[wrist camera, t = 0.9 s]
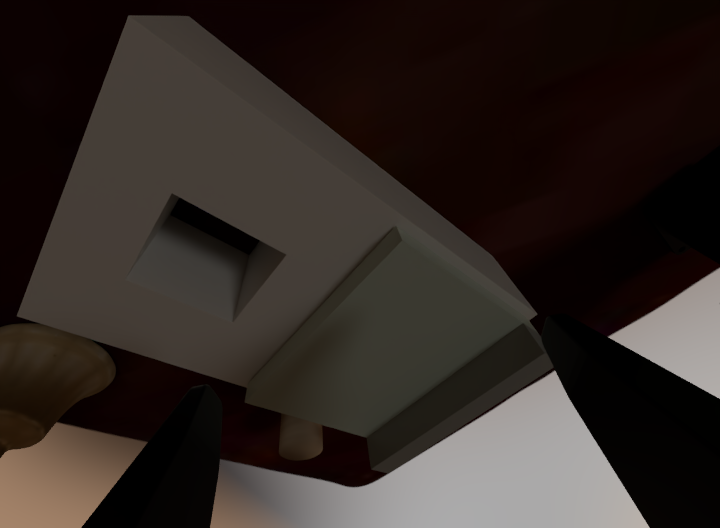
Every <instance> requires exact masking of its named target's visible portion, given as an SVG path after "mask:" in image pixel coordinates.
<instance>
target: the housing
mask: <svg viewBox="0 0 720 528" xmlns="http://www.w3.org/2000/svg"><path fill="white" fill-rule="evenodd" d="M179 198H182V199H184V200H186V201H187V202H189V203H191V204H193V205H195V206H197V207H199V208H200V209H202V210H204V211H206V212H208V213H210V214H212V215H213V216H215V217H217V218H219V219H221V220H223V221H225V222H226V223H228V224H230V225H232V226H234V227H236V228H238V229H240V230H241V231H243V232H245V233H247V234H249V235H251V236H253V237H254V238H256V239H258V240H260V241H259V242H258V244H257V245H256V247H255V248H254V249H253V251H252V252H251V253H250V255H248V254H246V253H244V252H242V251H240V250H238V249H236V248H234V247H232V246H230V245H228V244H226V243H225V242H223V241H221V240H219V239H217V238H215V237H213V236H211V235H209V234H207V233H205V232H203V231H201V230H199V229H197V228H195V227H193V226H191V225H189V224H187V223H185V222H183V221H181V220H179V219H177V218H175V217H173V216H171V215H170V214H171V212H172V210H173V209H174V207H175V205H176V203H177V201H178V200H179ZM395 226H397V227H399V228H400V229H401V230H403V231H404V232H406V233H407V234H409V235H410V236H411V237H413V238H414V239H416V240H417V241H419V242H420V243H421V244H423V245H424V246H426V247H427V248H428V249H430V250H431V251H433V252H434V253H436V254H437V255H438V256H440V257H441V258H443V259H444V260H446V261H447V262H448V263H450V264H451V265H453V266H454V267H456V268H457V269H458V270H460V271H461V272H463V273H464V274H465V275H467V276H468V277H470V278H471V279H473V280H474V281H475V282H477V283H478V284H480V285H481V286H483V287H484V288H485V289H487V290H488V291H490V292H491V293H492V294H494V295H495V296H497V297H498V298H500V299H501V300H502V301H504V302H505V303H507V304H508V305H510V306H511V307H512V308H514V309H515V310H517V311H518V312H520V313H521V314H522V315H524V316H525V317H527V319H528V320H531V319H532V318H533V317H535V316H536V315H537V313H536V312H535V310H534V309H533V308H532V307H531V305H530V304H529V303H528V301H527V300H526V299H525V298H524V296H523V295H522V294H521V292H520V291H519V290H518V288H517V287H516V286H515V285H514V283H513V282H512V281H511V279H510V278H509V277H508V276H507V274H506V273H505V272H504V270H503V269H502V268H501V267H500V265H499V264H498V263H497V261H496V260H495V259H494V258H493V256H492V255H491V254H489V253H488V252H487V251H485V250H484V249H483V248H482V247H480V246H479V245H478V244H477V243H475V242H474V241H473V240H472V239H470V238H469V237H468V236H466V235H465V234H464V233H463V232H461V231H460V230H459V229H458V228H456V227H455V226H454V225H453V224H451V223H450V222H449V221H447V220H446V219H445V218H444V217H442V216H441V215H440V214H439V213H437V212H436V211H435V210H434V209H432V208H431V207H430V206H428V205H427V204H426V203H425V202H423V201H422V200H421V199H420V198H418V197H417V196H416V195H414V194H413V193H412V192H411V191H409V190H408V189H407V188H406V187H404V186H403V185H402V184H401V183H399V182H398V181H397V180H395V179H394V178H393V177H392V176H390V175H389V174H388V173H387V172H385V171H384V170H383V169H382V168H380V167H379V166H378V165H376V164H375V163H374V162H373V161H371V160H370V159H369V158H368V157H366V156H365V155H364V154H363V153H361V152H360V151H359V150H357V149H356V148H355V147H354V146H352V145H351V144H350V143H349V142H347V141H346V140H345V139H344V138H342V137H341V136H340V135H338V134H337V133H336V132H335V131H333V130H332V129H331V128H330V127H328V126H327V125H326V124H324V123H323V122H322V121H321V120H319V119H318V118H317V117H316V116H314V115H313V114H312V113H311V112H309V111H308V110H307V109H305V108H304V107H303V106H302V105H300V104H299V103H298V102H297V101H295V100H294V99H293V98H292V97H290V96H289V95H288V94H286V93H285V92H284V91H283V90H281V89H280V88H279V87H278V86H276V85H275V84H274V83H273V82H271V81H270V80H269V79H267V78H266V77H265V76H264V75H262V74H261V73H260V72H259V71H257V70H256V69H255V68H254V67H252V66H251V65H250V64H248V63H247V62H246V61H245V60H243V59H242V58H241V57H240V56H238V55H237V54H236V53H234V52H233V51H232V50H231V49H229V48H228V47H227V46H226V45H224V44H223V43H222V42H221V41H219V40H218V39H217V38H215V37H214V36H213V35H212V34H210V33H209V32H208V31H207V30H205V29H204V28H203V27H202V26H200V25H199V24H198V23H196V22H195V21H194V20H193V19H191V18H190V17H189V16H128V19H127V21H126V24H125V27H124V29H123V32H122V35H121V37H120V40H119V43H118V45H117V48H116V51H115V54H114V56H113V59H112V62H111V64H110V67H109V70H108V72H107V75H106V78H105V80H104V83H103V86H102V88H101V91H100V94H99V97H98V99H97V102H96V105H95V107H94V110H93V113H92V115H91V118H90V121H89V123H88V126H87V129H86V132H85V134H84V137H83V140H82V142H81V145H80V148H79V150H78V153H77V156H76V158H75V161H74V164H73V166H72V169H71V172H70V175H69V177H68V180H67V183H66V185H65V188H64V191H63V193H62V196H61V199H60V201H59V204H58V207H57V210H56V212H55V215H54V218H53V220H52V223H51V226H50V228H49V231H48V234H47V236H46V239H45V242H44V244H43V247H42V250H41V253H40V255H39V258H38V261H37V263H36V266H35V269H34V271H33V274H32V277H31V279H30V282H29V285H28V288H27V290H26V293H25V296H24V298H23V301H22V304H21V306H20V309H19V312H18V314H17V316H18V317H21V318H24V319H28V320H31V321H34V322H37V323H40V324H44V325H47V326H50V327H53V328H57V329H60V330H63V331H66V332H69V333H73V334H76V335H79V336H82V337H85V338H89V339H92V340H95V341H98V342H102V343H105V344H108V345H111V346H114V347H118V348H121V349H124V350H127V351H130V352H134V353H137V354H140V355H143V356H147V357H150V358H153V359H156V360H159V361H163V362H166V363H169V364H172V365H175V366H179V367H182V368H185V369H188V370H192V371H195V372H198V373H201V374H204V375H208V376H211V377H214V378H217V379H220V380H224V381H227V382H230V383H233V384H236V385H240V386H243V387H246V388H247V385H248V383H249V382H250V381H251V380H252V379H253V378H254V377H255V376H256V374H257V373H258V372H259V371H260V370H261V369H262V368H263V367H264V366H265V365H266V364H267V363H268V362H269V361H270V360H271V358H272V357H273V356H274V355H275V354H276V353H277V352H278V351H279V350H280V349H281V348H282V347H283V346H284V345H285V344H286V342H287V341H288V340H289V339H290V338H291V337H292V336H293V335H294V334H295V333H296V332H297V331H298V330H299V329H300V328H301V327H302V325H303V324H304V323H305V322H306V321H307V320H308V319H309V318H310V317H311V316H312V315H313V314H314V313H315V312H316V311H317V309H318V308H319V307H320V306H321V305H322V304H323V303H324V302H325V301H326V300H327V299H328V298H329V297H330V296H331V295H332V293H333V292H334V291H335V290H336V289H337V288H338V287H339V286H340V285H341V284H342V283H343V282H344V281H345V280H346V279H347V277H348V276H349V275H350V274H351V273H352V272H353V271H354V270H355V269H356V268H357V267H358V266H359V265H360V264H361V263H362V261H363V260H364V259H365V258H366V257H367V256H368V255H369V254H370V253H371V252H372V251H373V250H374V249H375V248H376V247H377V246H378V244H379V243H380V242H381V241H382V240H383V239H384V238H385V237H386V236H387V235H388V234H389V233H390V232H391V231H392V230H393V228H394V227H395Z"/></svg>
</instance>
